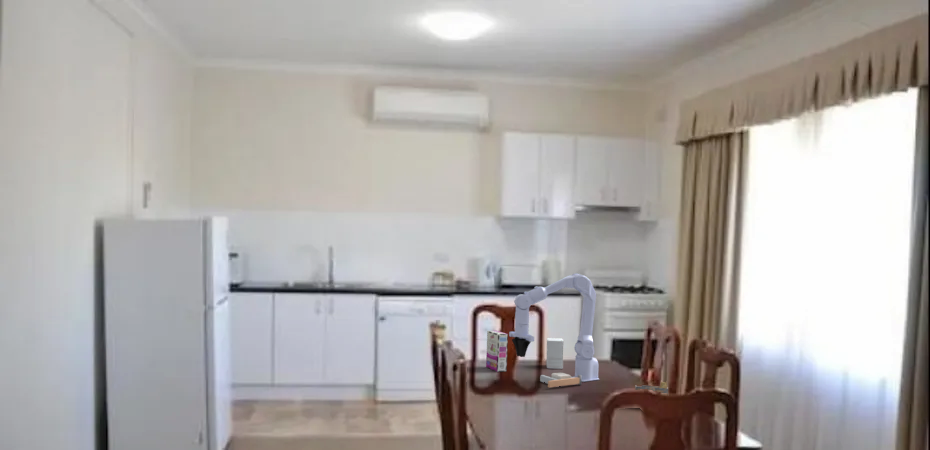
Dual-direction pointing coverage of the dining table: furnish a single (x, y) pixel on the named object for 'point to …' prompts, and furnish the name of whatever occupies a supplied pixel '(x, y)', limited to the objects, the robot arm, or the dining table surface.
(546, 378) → the dock
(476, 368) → the dining table surface
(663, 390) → the ruin model on sheet
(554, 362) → the supplement box
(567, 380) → the tan flat bar
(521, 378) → the dining table surface
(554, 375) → the white block
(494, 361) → the candy bar box
